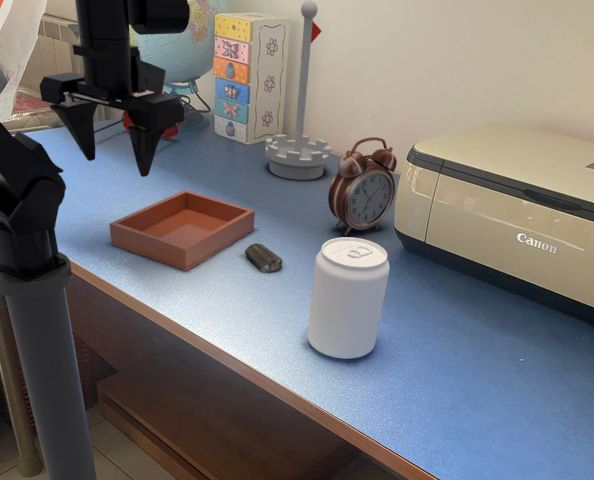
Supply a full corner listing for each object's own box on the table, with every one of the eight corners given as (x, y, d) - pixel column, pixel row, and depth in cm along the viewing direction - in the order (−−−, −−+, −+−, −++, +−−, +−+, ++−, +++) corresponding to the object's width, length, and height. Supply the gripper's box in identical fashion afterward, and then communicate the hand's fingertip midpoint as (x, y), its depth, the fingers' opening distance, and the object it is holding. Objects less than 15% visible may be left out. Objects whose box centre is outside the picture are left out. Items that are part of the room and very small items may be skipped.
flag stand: (307, 186, 112) (324, 6, 95) (251, 170, 117) (258, -4, 100) (339, 170, 122) (360, 3, 104) (286, 155, 127) (297, -6, 109)
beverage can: (292, 339, 70) (301, 247, 63) (338, 317, 75) (350, 229, 68) (343, 371, 65) (358, 276, 58) (388, 346, 70) (407, 255, 63)
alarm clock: (339, 240, 94) (352, 145, 85) (322, 228, 97) (332, 135, 88) (390, 229, 99) (408, 138, 90) (372, 218, 102) (387, 130, 93)
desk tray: (186, 271, 81) (185, 249, 79) (111, 244, 86) (109, 223, 84) (254, 230, 94) (254, 210, 92) (185, 208, 99) (185, 189, 97)
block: (261, 252, 88) (262, 240, 87) (285, 268, 84) (286, 257, 83) (241, 257, 86) (241, 246, 85) (264, 274, 82) (265, 262, 81)
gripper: (210, 42, 71) (211, 168, 80) (95, 20, 78) (107, 140, 87) (150, 51, 63) (158, 191, 72) (26, 26, 70) (48, 157, 79)
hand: (117, 167), depth 78 cm, fingers open, 9 cm apart
